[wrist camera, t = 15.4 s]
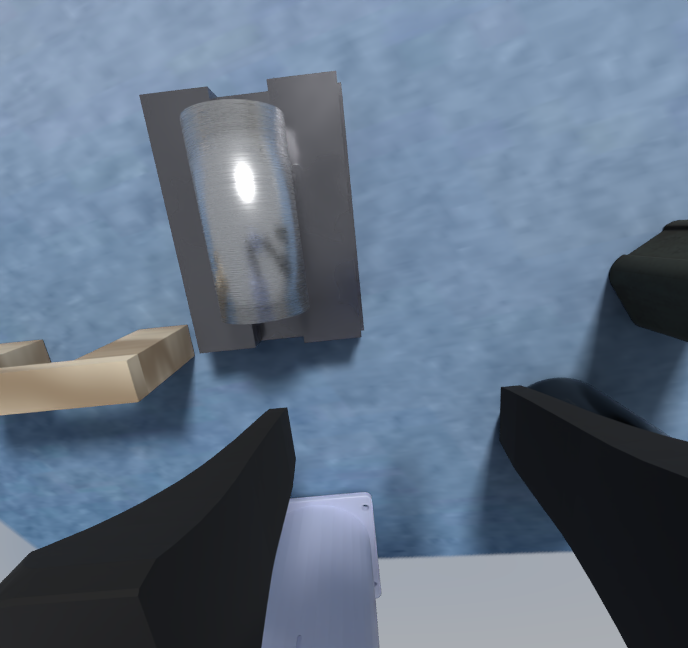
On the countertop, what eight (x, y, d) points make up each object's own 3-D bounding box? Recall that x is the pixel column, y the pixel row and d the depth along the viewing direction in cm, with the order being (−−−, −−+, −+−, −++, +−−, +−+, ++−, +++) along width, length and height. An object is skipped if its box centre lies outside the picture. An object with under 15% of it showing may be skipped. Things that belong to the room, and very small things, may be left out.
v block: (362, 323, 20) (365, 336, 17) (215, 338, 20) (196, 353, 18) (341, 95, 17) (340, 70, 14) (166, 116, 17) (134, 95, 14)
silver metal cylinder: (308, 299, 18) (311, 316, 14) (230, 309, 17) (212, 329, 13) (285, 130, 15) (281, 95, 12) (196, 137, 15) (162, 103, 11)
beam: (194, 355, 20) (138, 402, 15) (7, 374, 21) (-117, 426, 15) (187, 324, 20) (126, 360, 14) (-5, 344, 20) (-138, 387, 15)
